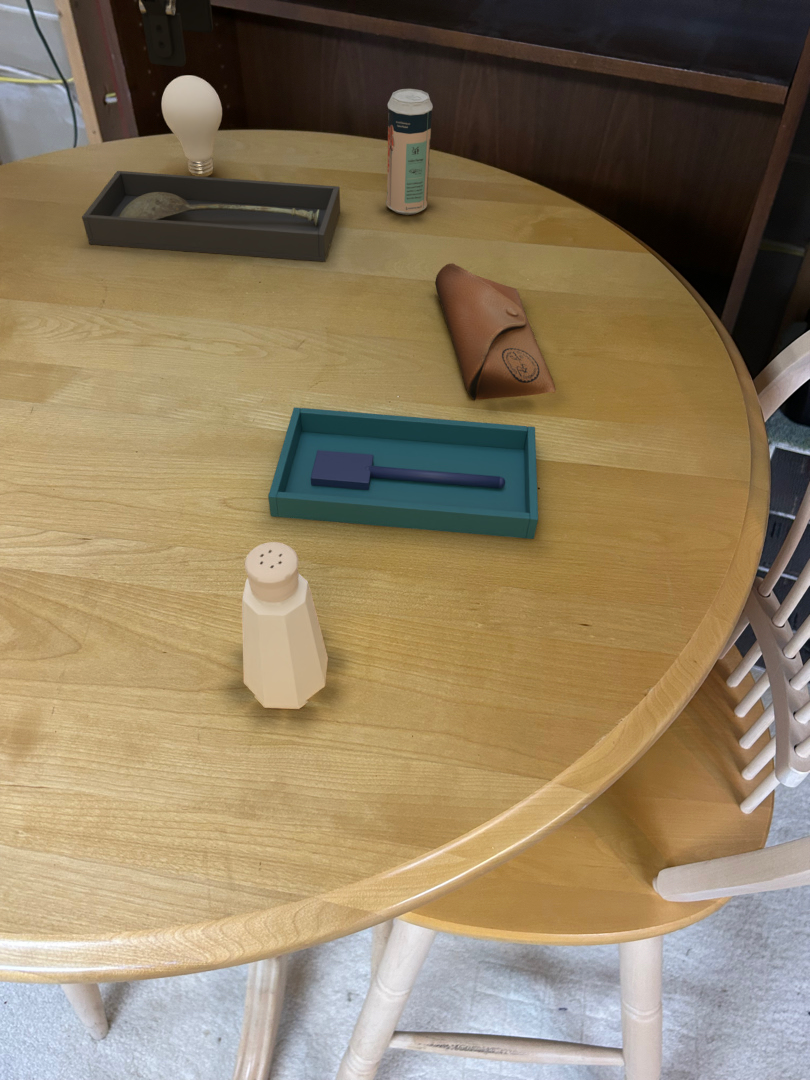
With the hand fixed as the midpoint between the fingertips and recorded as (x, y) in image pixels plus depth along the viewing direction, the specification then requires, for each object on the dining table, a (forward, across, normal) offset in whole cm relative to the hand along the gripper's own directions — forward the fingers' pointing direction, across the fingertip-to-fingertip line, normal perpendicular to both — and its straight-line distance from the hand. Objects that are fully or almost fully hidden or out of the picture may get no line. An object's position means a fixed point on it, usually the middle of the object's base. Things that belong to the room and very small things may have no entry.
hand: (183, 46), depth 75 cm
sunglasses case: (+17, +18, +31) cm, 40 cm away
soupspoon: (+17, -1, +1) cm, 17 cm away
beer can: (+17, -8, +21) cm, 29 cm away
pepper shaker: (+18, +56, +19) cm, 61 cm away
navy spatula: (+17, +38, +25) cm, 48 cm away
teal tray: (+18, +38, +25) cm, 48 cm away
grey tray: (+18, -1, +1) cm, 18 cm away
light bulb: (+18, -13, -4) cm, 22 cm away
